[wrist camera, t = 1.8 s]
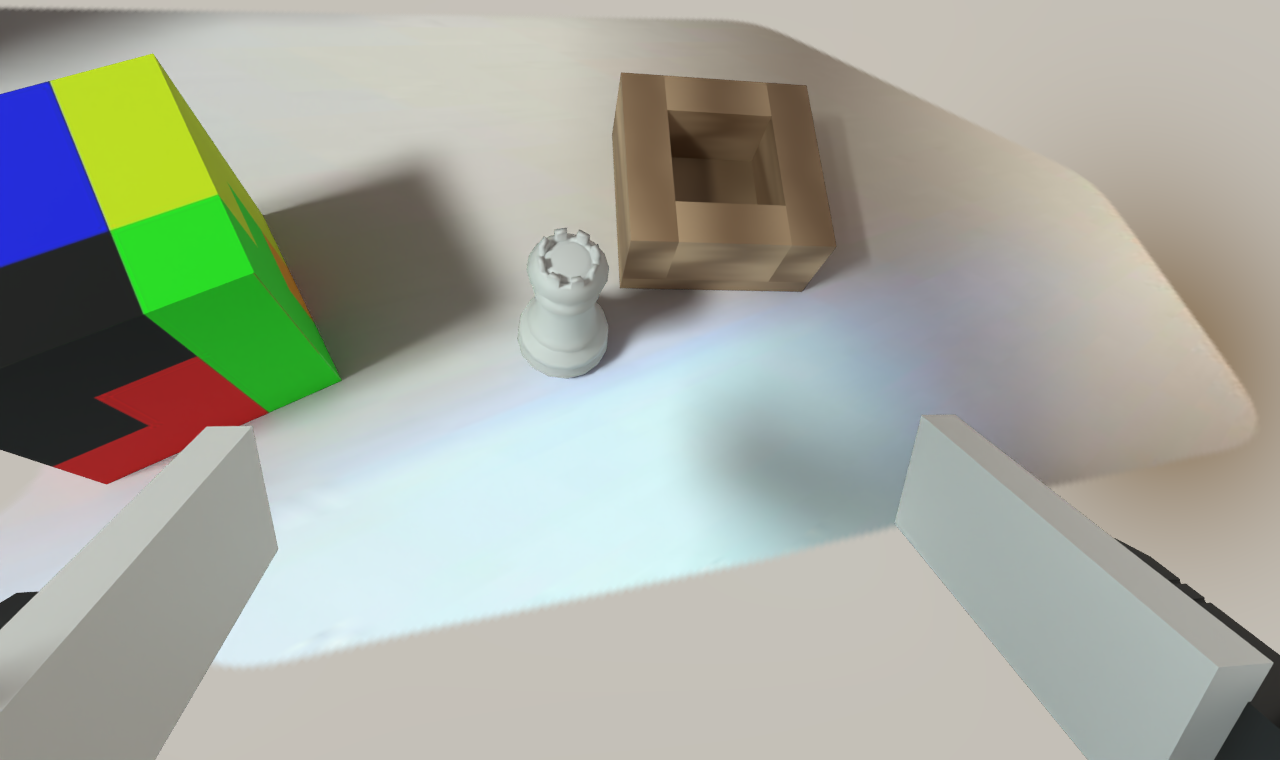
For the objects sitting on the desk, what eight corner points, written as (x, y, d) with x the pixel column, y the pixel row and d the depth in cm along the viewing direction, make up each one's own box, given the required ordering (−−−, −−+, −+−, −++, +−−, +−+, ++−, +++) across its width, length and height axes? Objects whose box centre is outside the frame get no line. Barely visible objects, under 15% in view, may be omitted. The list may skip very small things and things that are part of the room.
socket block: (619, 288, 34) (631, 240, 30) (612, 134, 37) (621, 72, 33) (801, 291, 35) (836, 246, 31) (778, 143, 39) (806, 85, 35)
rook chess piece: (558, 284, 33) (562, 187, 26) (625, 337, 33) (649, 253, 26) (498, 343, 32) (484, 257, 24) (567, 400, 31) (575, 329, 24)
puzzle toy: (39, 294, 30) (-189, 144, 20) (263, 216, 33) (152, 53, 23) (107, 484, 27) (-116, 411, 18) (342, 381, 30) (254, 272, 21)
